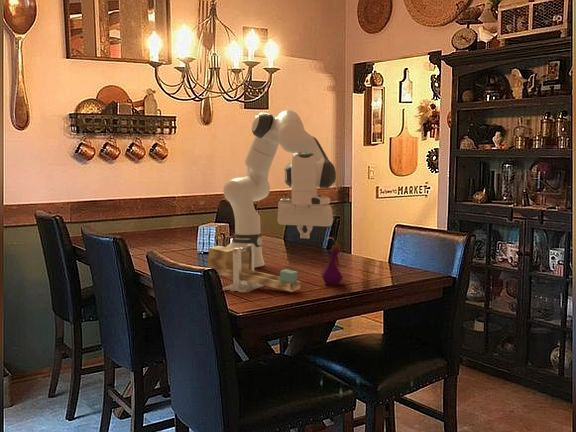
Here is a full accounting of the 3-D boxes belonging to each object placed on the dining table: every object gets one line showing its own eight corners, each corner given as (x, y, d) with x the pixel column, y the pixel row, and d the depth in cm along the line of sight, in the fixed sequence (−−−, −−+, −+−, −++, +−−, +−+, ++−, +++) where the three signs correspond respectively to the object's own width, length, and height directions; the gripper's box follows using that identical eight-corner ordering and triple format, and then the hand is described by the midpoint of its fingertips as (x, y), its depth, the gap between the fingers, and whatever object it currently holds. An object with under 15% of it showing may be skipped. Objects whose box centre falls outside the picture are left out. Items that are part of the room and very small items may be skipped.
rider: (278, 284, 235) (280, 270, 234) (284, 282, 239) (285, 269, 238) (291, 287, 233) (292, 273, 232) (296, 285, 237) (297, 271, 236)
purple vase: (340, 282, 253) (340, 235, 251) (342, 286, 245) (342, 238, 243) (321, 282, 252) (320, 236, 251) (322, 286, 245) (322, 238, 243)
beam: (207, 271, 248) (209, 246, 246) (216, 268, 253) (218, 244, 252) (291, 291, 232) (294, 264, 230) (300, 288, 237) (302, 261, 236)
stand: (222, 290, 241) (221, 248, 239) (242, 283, 253) (242, 243, 252) (246, 292, 236) (245, 250, 235) (265, 285, 248) (264, 244, 247)
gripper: (273, 199, 232) (274, 238, 233) (327, 200, 222) (327, 240, 224) (282, 197, 237) (283, 236, 239) (334, 198, 228) (335, 238, 229)
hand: (305, 238), depth 231 cm, fingers closed
